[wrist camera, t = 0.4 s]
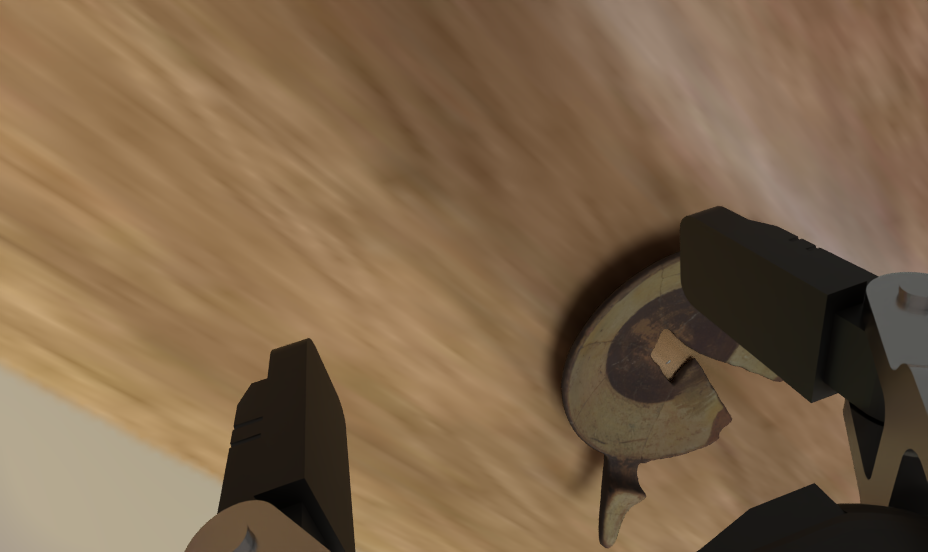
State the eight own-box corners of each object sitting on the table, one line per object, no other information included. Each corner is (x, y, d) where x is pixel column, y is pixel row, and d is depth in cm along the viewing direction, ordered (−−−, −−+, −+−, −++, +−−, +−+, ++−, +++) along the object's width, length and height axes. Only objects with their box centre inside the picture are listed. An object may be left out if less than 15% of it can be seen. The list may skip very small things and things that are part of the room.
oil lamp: (811, 301, 53) (882, 344, 46) (597, 500, 58) (634, 564, 52) (694, 160, 43) (764, 188, 36) (448, 418, 48) (469, 484, 42)
